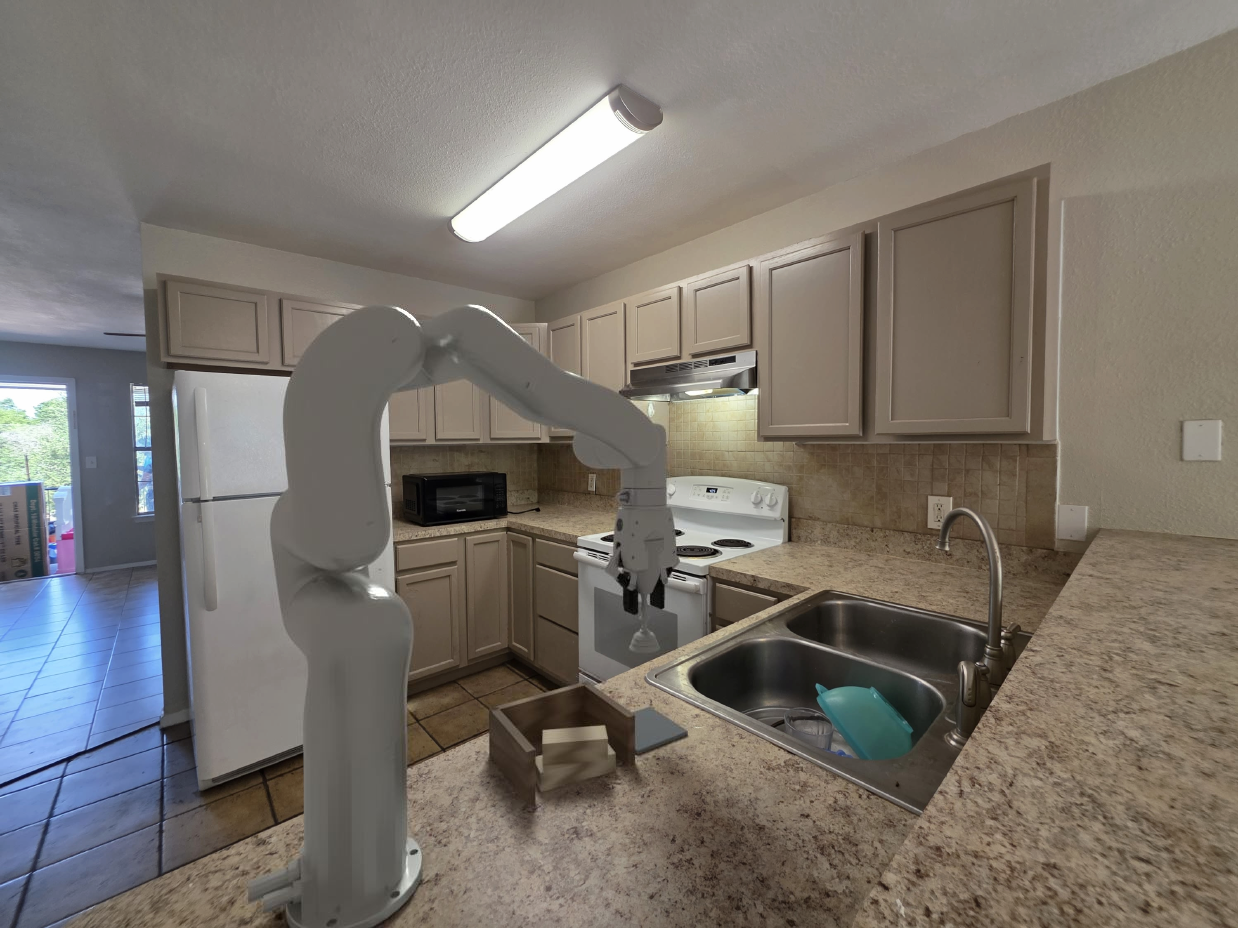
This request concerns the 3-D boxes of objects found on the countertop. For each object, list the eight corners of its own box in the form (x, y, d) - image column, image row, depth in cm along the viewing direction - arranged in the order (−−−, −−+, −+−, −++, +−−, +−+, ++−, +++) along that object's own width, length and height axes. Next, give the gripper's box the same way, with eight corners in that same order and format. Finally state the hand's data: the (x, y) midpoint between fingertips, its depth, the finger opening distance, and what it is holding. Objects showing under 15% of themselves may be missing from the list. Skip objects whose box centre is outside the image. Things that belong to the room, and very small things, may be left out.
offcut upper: (542, 765, 70) (542, 743, 70) (542, 750, 73) (542, 729, 73) (607, 759, 71) (607, 738, 71) (604, 745, 74) (604, 725, 74)
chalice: (671, 653, 81) (670, 540, 81) (629, 657, 79) (629, 542, 79) (657, 637, 88) (656, 533, 88) (619, 641, 86) (618, 535, 86)
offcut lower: (540, 795, 68) (540, 772, 68) (532, 778, 72) (532, 757, 72) (615, 773, 73) (615, 753, 73) (604, 759, 76) (604, 739, 76)
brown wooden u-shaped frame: (526, 806, 65) (526, 752, 65) (489, 754, 77) (489, 708, 77) (635, 762, 74) (635, 714, 74) (586, 722, 86) (586, 680, 86)
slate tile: (637, 754, 76) (637, 750, 76) (602, 725, 85) (602, 722, 85) (687, 734, 82) (687, 730, 82) (650, 709, 90) (650, 706, 90)
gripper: (612, 502, 75) (613, 625, 76) (697, 497, 85) (698, 606, 85) (587, 499, 82) (588, 613, 82) (669, 495, 91) (669, 597, 91)
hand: (644, 608), depth 83 cm, fingers closed on chalice, 4 cm apart
